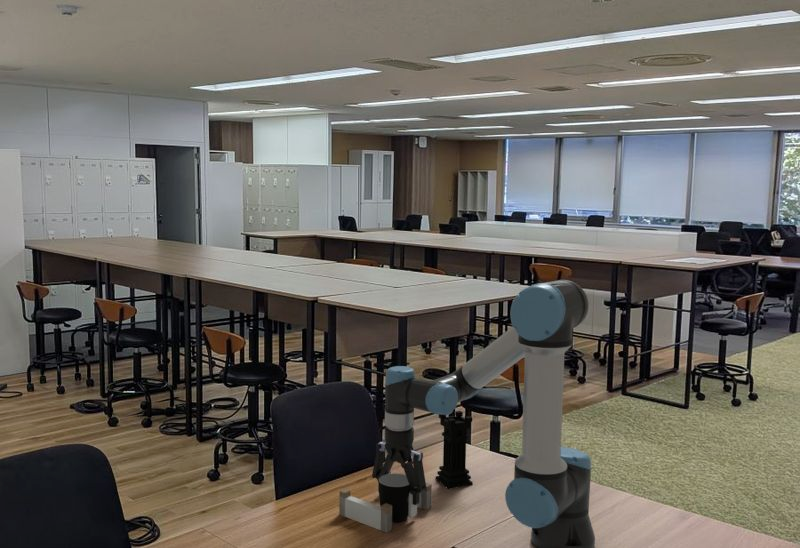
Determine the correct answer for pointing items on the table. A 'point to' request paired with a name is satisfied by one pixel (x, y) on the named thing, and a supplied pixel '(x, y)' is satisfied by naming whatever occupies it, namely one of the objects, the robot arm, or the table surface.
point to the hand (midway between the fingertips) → (398, 510)
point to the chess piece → (454, 451)
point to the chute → (375, 509)
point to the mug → (395, 494)
